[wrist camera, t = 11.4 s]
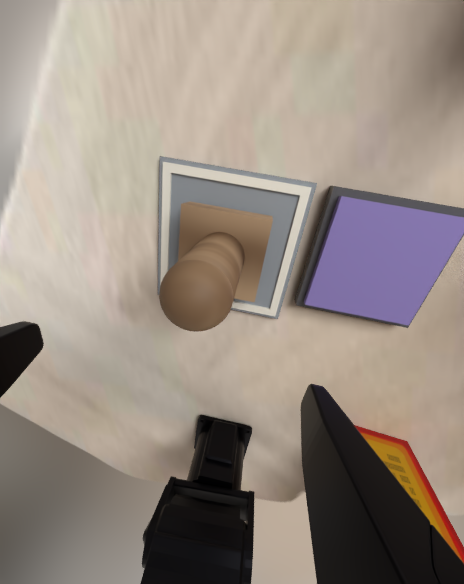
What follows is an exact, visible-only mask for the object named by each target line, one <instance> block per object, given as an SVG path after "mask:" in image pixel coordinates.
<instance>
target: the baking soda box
mask: <svg viewBox="0 0 464 584" xmlns="http://www.w3.org/2000/svg"><path fill="white" fill-rule="evenodd" d="M354 426H355V425H354ZM355 427H356V428H357V429H358V431H359V432H360V433H361V434H362V436H363V437H364V438H365V440H366V441H367V442H368V443H369V445H370V446H371V447H372V448H373V450H374V451H375V452H376V453H377V455H378V456H379V457H380V458H381V460H382V461H383V462H384V464H385V465H386V466H387V467H388V469H389V470H390V471H391V472H392V474H393V475H394V476H395V477H396V479H397V480H398V481H399V483H400V484H401V485H402V486H403V488H404V489H405V490H406V491H407V493H408V494H409V495H410V496H411V498H412V499H413V500H414V501H415V503H416V504H417V505H418V507H419V508H420V509H421V510H422V512H423V513H424V514H425V515H426V517H427V518H428V519H429V521H430V525H433V526H434V527H435V528H436V529H437V530H438V532H439V533H440V534H441V535H442V537H443V538H444V539H445V540H446V542H447V543H448V544H449V546H450V547H451V548H452V549H453V550H454V552H455V553H456V554H457V555H458V557H459V558H460V559H461V560H462V562H463V563H464V547H463V545H462V543H461V541H460V539H459V537H458V536H457V534H456V532H455V530H454V528H453V526H452V524H451V523H450V521H449V519H448V517H447V515H446V513H445V511H444V509H443V507H442V506H441V504H440V502H439V500H438V498H437V496H436V494H435V492H434V491H433V489H432V487H431V485H430V483H429V481H428V479H427V477H426V476H425V474H424V472H423V470H422V468H421V466H420V464H419V462H418V461H417V459H416V457H415V455H414V453H413V451H412V449H411V447H410V446H409V444H408V442H407V441H404V440H401V439H397V438H394V437H391V436H388V435H384V434H381V433H378V432H375V431H371V430H368V429H365V428H362V427H358V426H355Z"/></svg>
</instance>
